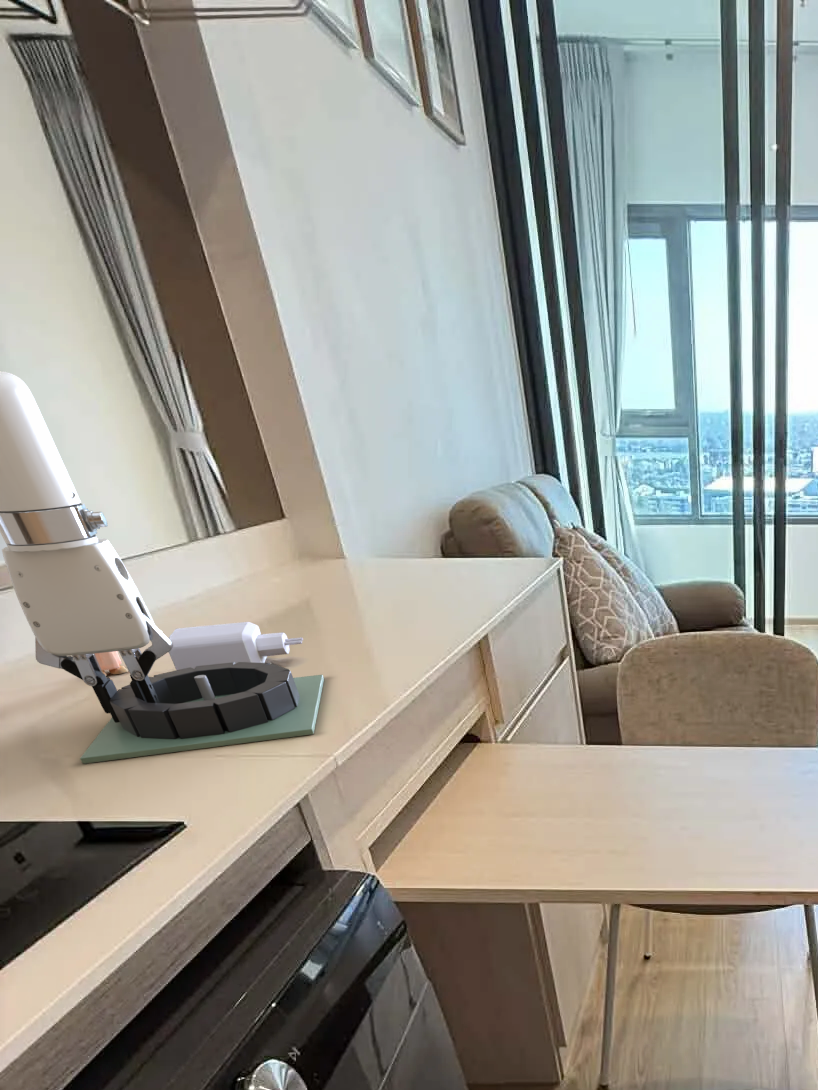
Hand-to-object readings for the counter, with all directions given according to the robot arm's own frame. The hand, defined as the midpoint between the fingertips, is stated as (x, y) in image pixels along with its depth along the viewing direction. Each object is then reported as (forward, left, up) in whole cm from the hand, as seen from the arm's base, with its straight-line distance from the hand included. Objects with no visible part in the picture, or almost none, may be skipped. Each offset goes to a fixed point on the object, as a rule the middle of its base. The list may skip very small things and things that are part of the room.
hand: (136, 715), depth 94 cm
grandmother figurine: (-8, +26, -1) cm, 27 cm away
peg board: (+8, 0, -1) cm, 8 cm away
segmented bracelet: (+8, 0, -1) cm, 8 cm away
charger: (+9, +22, -1) cm, 24 cm away
